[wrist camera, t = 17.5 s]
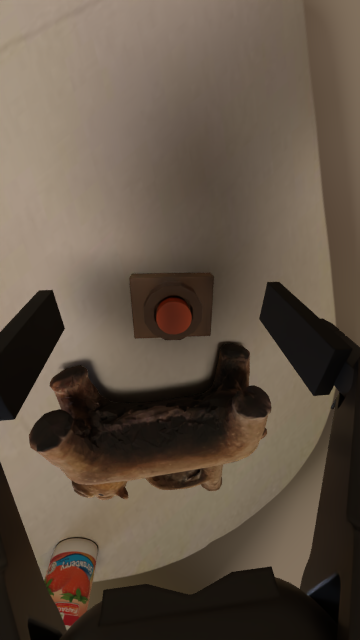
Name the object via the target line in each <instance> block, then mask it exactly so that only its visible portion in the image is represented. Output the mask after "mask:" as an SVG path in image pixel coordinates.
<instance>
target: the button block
mask: <svg viewBox="0 0 360 640" xmlns="http://www.w3.org/2000/svg"><path fill="white" fill-rule="evenodd" d="M129 279H130V291H131V302H132V314H133V325H134V337H135V338H160V337H161V338H163V339H165V340H181V339H183V338H185V337H187V336H210V334H211V318H212V301H213V284H214V276H213V275H212V274H211V273H151V274H131V276H130V278H129ZM170 297H177V298H180V299H182V300H184V301H185V302H186V303H187V304H188V306H189V309H190V312H191V315H192V320H191V324H190V326H189V327H188V328H187V329H186V330H185V331H184V332H182V333H179V334H168V333H165V332H164V331H162V330H161V329H160V328H159V326H158V324H157V321H156V311H157V308H158V306H159V304H160V303H161V302H162V301H163V300H165V299H167V298H170Z"/></svg>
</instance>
